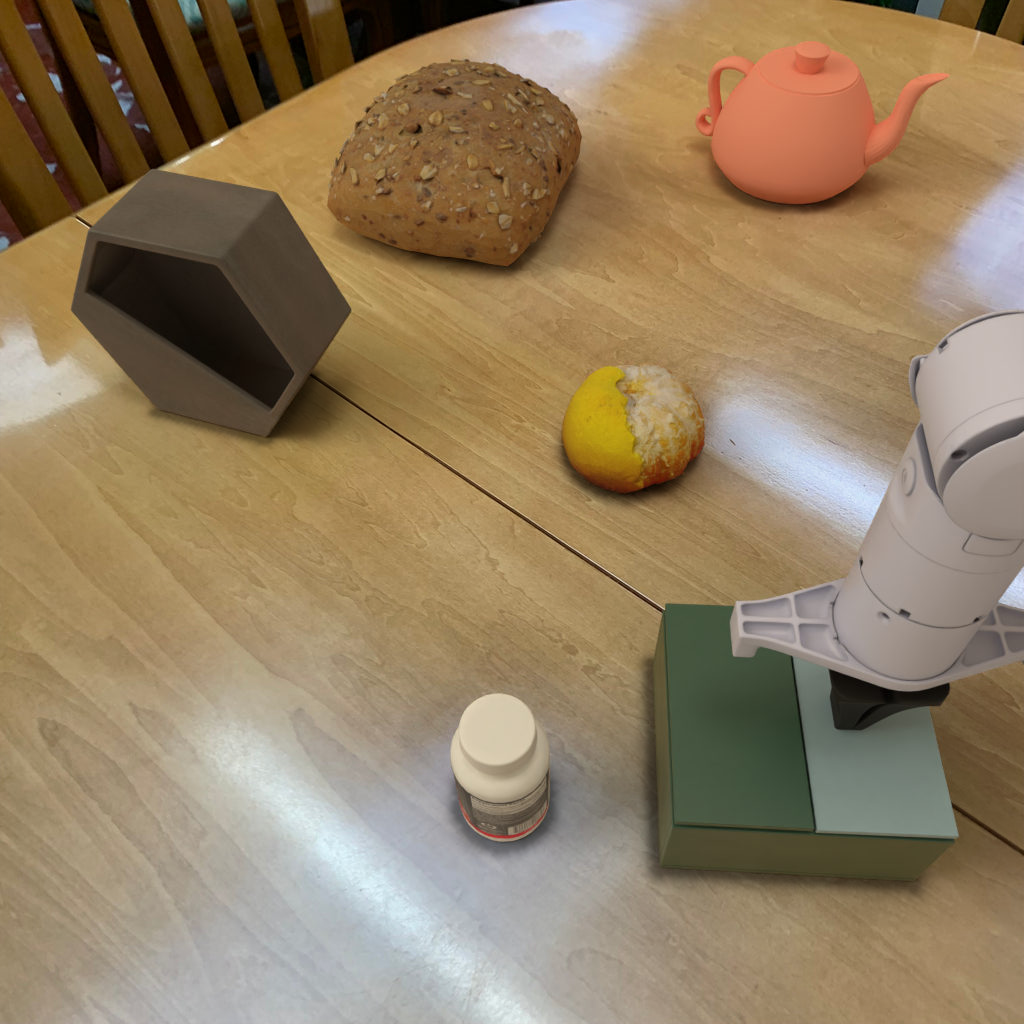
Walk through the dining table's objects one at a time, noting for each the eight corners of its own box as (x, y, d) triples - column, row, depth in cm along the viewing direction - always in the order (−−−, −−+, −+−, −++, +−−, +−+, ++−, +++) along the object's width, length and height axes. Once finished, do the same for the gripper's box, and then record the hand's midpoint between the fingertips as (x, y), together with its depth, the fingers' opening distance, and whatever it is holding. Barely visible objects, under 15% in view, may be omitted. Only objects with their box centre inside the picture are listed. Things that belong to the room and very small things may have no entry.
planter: (61, 348, 73) (99, 175, 57) (117, 288, 78) (167, 112, 61) (248, 466, 77) (332, 336, 61) (291, 403, 82) (380, 266, 66)
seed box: (873, 671, 59) (908, 611, 53) (914, 881, 51) (961, 837, 45) (652, 662, 60) (664, 602, 54) (659, 867, 52) (674, 822, 46)
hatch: (905, 615, 54) (907, 611, 53) (956, 839, 46) (959, 836, 45) (784, 612, 54) (786, 609, 54) (815, 833, 46) (816, 830, 46)
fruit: (692, 518, 66) (670, 441, 61) (559, 509, 71) (528, 436, 66) (724, 409, 73) (708, 330, 67) (601, 407, 77) (575, 333, 72)
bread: (526, 294, 83) (523, 173, 74) (315, 249, 88) (287, 131, 79) (603, 151, 97) (609, 35, 87) (417, 120, 102) (404, 6, 92)
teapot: (922, 158, 94) (966, 33, 85) (887, 243, 86) (931, 116, 76) (716, 113, 101) (734, -7, 91) (665, 188, 93) (678, 64, 83)
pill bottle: (461, 755, 56) (448, 680, 49) (549, 755, 56) (550, 679, 49) (457, 844, 53) (442, 779, 45) (550, 844, 53) (551, 778, 45)
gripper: (1076, 501, 41) (966, 652, 52) (745, 491, 42) (704, 642, 53) (1132, 640, 37) (999, 773, 47) (761, 625, 38) (713, 760, 48)
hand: (845, 712), depth 50 cm, fingers closed, pressing on hatch
